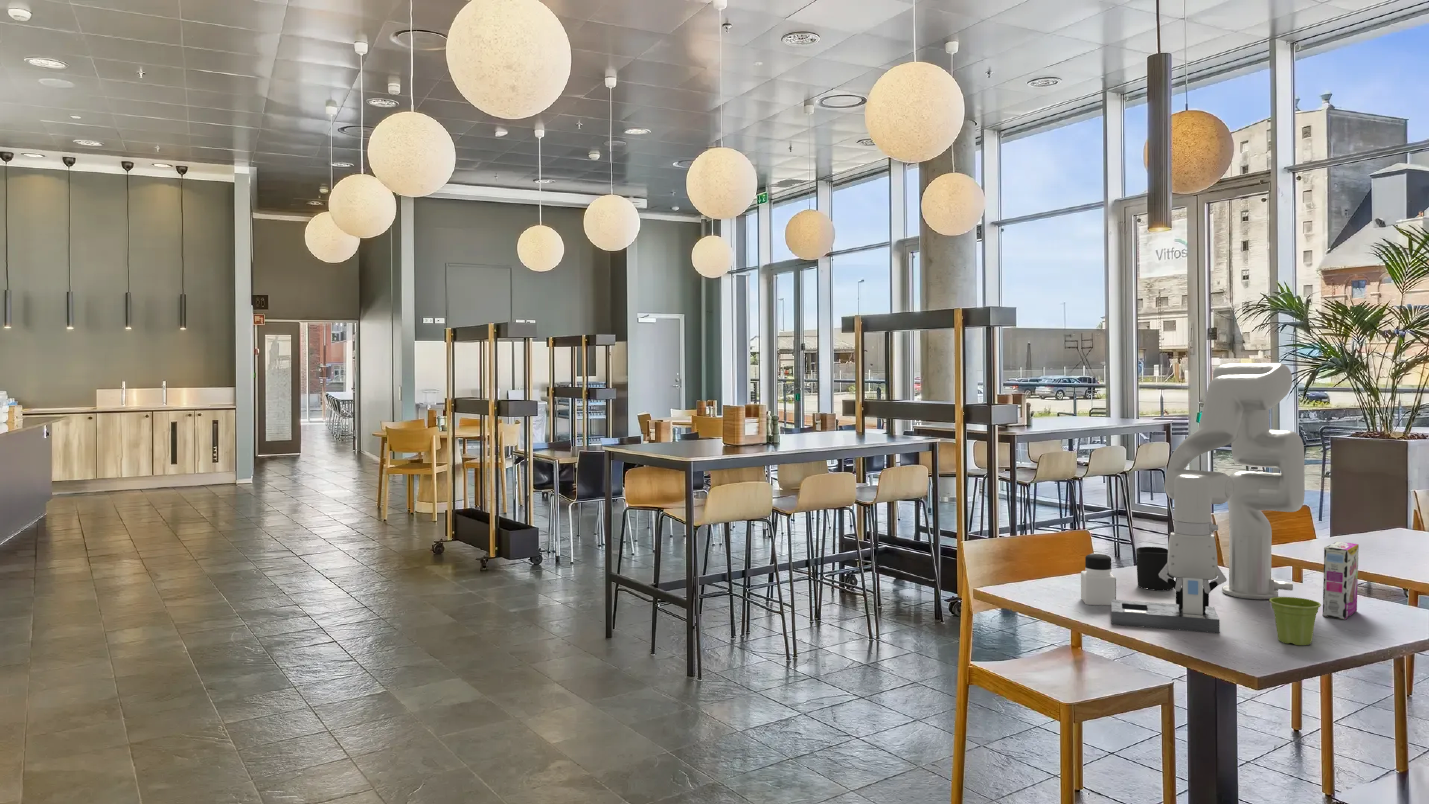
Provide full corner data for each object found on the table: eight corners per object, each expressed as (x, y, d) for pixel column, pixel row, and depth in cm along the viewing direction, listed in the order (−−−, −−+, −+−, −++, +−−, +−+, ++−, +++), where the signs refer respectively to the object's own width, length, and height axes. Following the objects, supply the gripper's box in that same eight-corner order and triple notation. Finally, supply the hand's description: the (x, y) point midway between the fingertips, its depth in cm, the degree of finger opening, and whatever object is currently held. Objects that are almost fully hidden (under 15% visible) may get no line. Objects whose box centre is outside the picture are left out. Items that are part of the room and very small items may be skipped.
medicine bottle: (1116, 606, 236) (1116, 557, 236) (1085, 605, 237) (1085, 557, 237) (1110, 599, 243) (1110, 552, 243) (1080, 598, 244) (1080, 551, 244)
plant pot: (1259, 636, 208) (1259, 597, 208) (1300, 635, 209) (1300, 595, 209) (1288, 649, 199) (1288, 607, 199) (1331, 647, 200) (1331, 606, 200)
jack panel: (1213, 619, 222) (1213, 606, 222) (1219, 633, 211) (1219, 618, 211) (1111, 611, 231) (1111, 598, 231) (1111, 624, 220) (1111, 610, 219)
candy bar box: (1347, 620, 220) (1347, 549, 219) (1322, 617, 223) (1322, 547, 223) (1358, 611, 228) (1359, 543, 227) (1334, 608, 231) (1335, 540, 231)
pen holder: (1179, 586, 256) (1179, 549, 255) (1168, 593, 249) (1168, 554, 248) (1142, 581, 262) (1142, 545, 261) (1131, 588, 255) (1131, 550, 254)
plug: (1201, 622, 220) (1201, 575, 219) (1202, 628, 216) (1203, 579, 215) (1181, 621, 221) (1181, 574, 221) (1183, 626, 217) (1183, 578, 217)
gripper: (1231, 528, 218) (1231, 607, 219) (1151, 524, 225) (1151, 601, 225) (1236, 533, 211) (1235, 615, 212) (1152, 529, 218) (1152, 609, 218)
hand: (1192, 607), depth 219 cm, fingers closed on plug, 4 cm apart
